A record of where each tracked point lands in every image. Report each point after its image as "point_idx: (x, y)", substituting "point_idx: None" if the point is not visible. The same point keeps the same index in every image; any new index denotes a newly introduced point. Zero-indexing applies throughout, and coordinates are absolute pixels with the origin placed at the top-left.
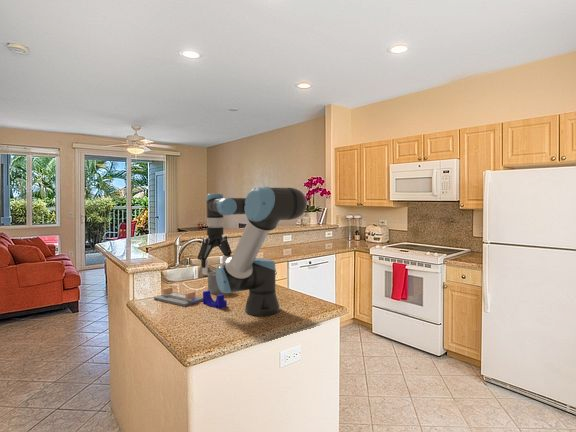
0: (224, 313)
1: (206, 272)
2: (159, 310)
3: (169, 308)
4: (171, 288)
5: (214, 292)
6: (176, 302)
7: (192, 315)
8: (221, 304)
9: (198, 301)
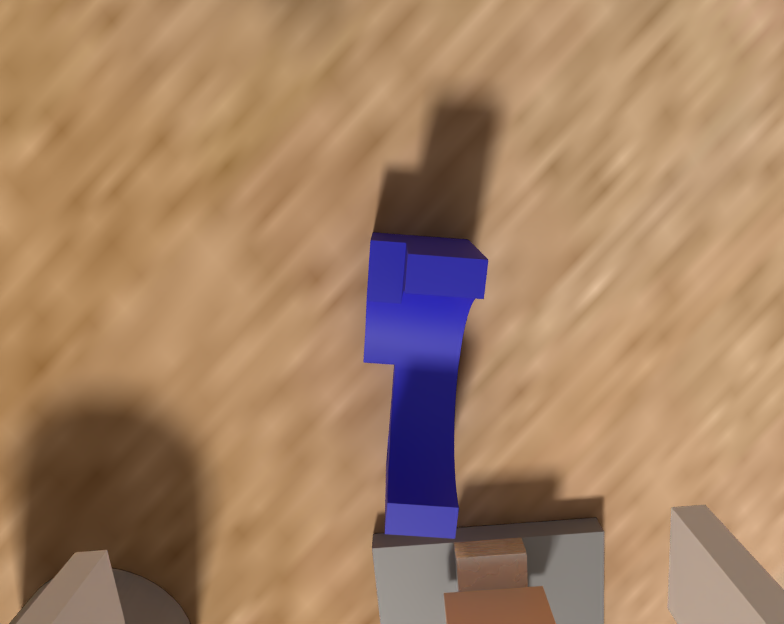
0: (543, 80)
1: (732, 540)
2: None
3: None
4: None
5: (173, 617)
6: (602, 620)
7: (740, 280)
8: (437, 242)
9: None
